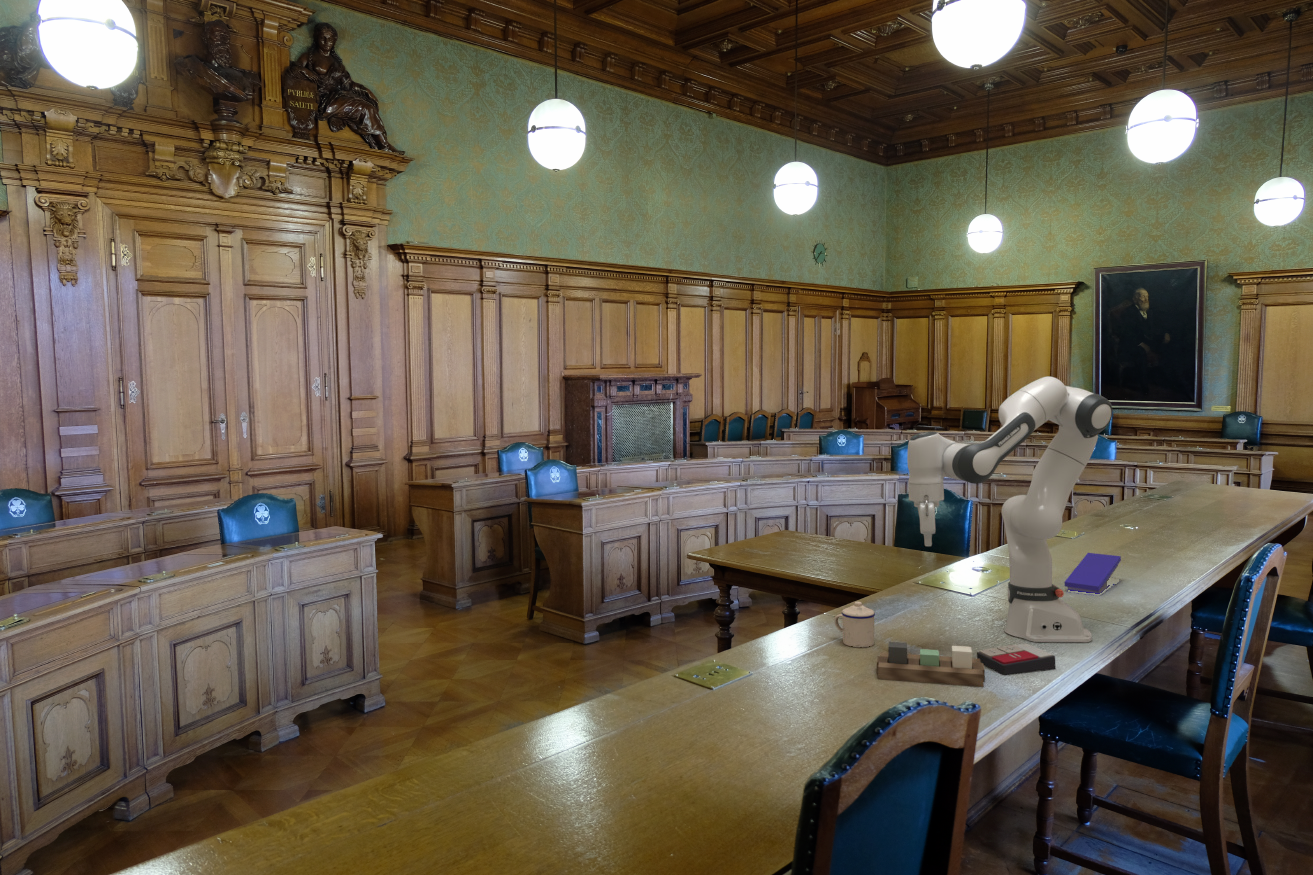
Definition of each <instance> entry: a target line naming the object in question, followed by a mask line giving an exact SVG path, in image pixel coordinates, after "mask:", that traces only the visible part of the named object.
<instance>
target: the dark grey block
mask: <svg viewBox="0 0 1313 875" xmlns="http://www.w3.org/2000/svg"><path fill="white" fill-rule="evenodd" d="M887 650H888V651H887V652H888V659H889V663H895V664H907V654H908V642H902V641H900V642H899V641H888V647H887Z"/></svg>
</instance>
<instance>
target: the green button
mask: <svg viewBox="0 0 1313 875" xmlns="http://www.w3.org/2000/svg"><path fill="white" fill-rule="evenodd" d="M919 655H920V665H923V666H937V667H939V656H940V651H939V650H938V649H928V648H927V649H926V648H925V649H924V648H919Z"/></svg>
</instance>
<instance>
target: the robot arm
mask: <svg viewBox="0 0 1313 875" xmlns="http://www.w3.org/2000/svg"><path fill="white" fill-rule="evenodd" d="M1112 418H1113V405H1112V403H1111V401H1110V400H1108V398H1106V397H1104V395H1103V396H1102V395H1101V394H1099V393H1093V392H1090V391H1089V390H1086V389H1083V388H1079V387H1074V386H1068V385H1065V384H1064V382H1062V380H1060V379H1058V378H1057V377H1054V376H1043V377H1040V378H1039V379H1036V380H1034V381H1032V382H1030V383H1028V384H1026V385H1024V386H1023V387H1021V388H1020V389H1018V390H1017V391H1015V392H1014V393H1013V394H1011V395H1010V396H1009V397H1007V398H1006V399H1004V401H1003V402H1002V403H1001V404H1000V405H999V408H998V420H999V422H1000V424H1001V426H1002V427H1000V428H999V429H998V430H996V431H995V432H994V433H992V435H991V436H989V437H988V438H987V439H986V440H985V441H982V442H976V443H963V442H957V441H954V440H951V439H949V438H946V437H945V436H943V435H940V434H939V433H938V431H922V432H919V433H916V434H914V435H912V436H911V437H910V438H909V441H908V445H907V458H906V459H907V461H906V462H907V469H908V472H909V477H908V483H907V484H908V486H907V487H908V500H909V501H910V502H913V505H914V507H915V508H917V511H918V516H919V530H920V531H919V533H920V534H922V535H923V539H924V541H923V542H924V546H925V547H932V545H933V540H932V539H933V538H932V537H933V535H935V534H936V508H937V507H940V502H941V501H944V500H945V493H944V492H945V490H944V486H945V485H944V478H948V479H954V480H959V481H963V482H967V483H970V484H981V483H984V482H986V481H988V480H989V479H990V478H991V477H992V475H994V474H995V471H996V470H997V468H998V467H999V466H1000V464H1001V462H1003V460H1005V458H1007V457H1008V456H1009V455H1010V454H1011V453H1012V452H1014V451H1015V450H1016V449H1017V448H1018V447H1019V446H1021V445H1022V444H1023V443H1024V442H1025V441H1026V440H1027V439H1028V438H1029V437H1030V436H1031V435H1032V434H1033V432H1034V431H1035V430H1037V429H1038V428H1039V427H1041V426H1042V425H1043V424H1045V423H1046V422H1048V421H1049V422H1052V423H1054V424H1057V425H1058V432H1057V433H1056V434H1055V435H1054V437H1053V438H1052V440H1051V441H1050V443H1049V444H1048V446H1047V447H1046V449H1045V451H1044V452H1043V453H1042V455H1041V457H1040V459H1039V461H1038V463H1037V464H1036V466H1035V468H1034V469H1033V471H1032V478H1031V482H1030V486H1029V487H1028V491H1027V494H1018V495H1014V496H1011V497H1010V498H1008V499H1006V500H1005V502H1004V503H1003V504H1002V507H1001V517H1002V520H1003V523H1004V532H1005V537H1006V542H1007V547H1008V548H1007V550H1008V555H1009V558H1008V559H1009V582H1008V583H1007V585H1008V586H1007V600H1008V608H1007V617H1006V622H1005V626H1004V628H1003V631H1004V632H1005V633H1006V634H1008V635H1011V636H1014V637H1015V638H1017V637H1018V638H1020V639H1024V640H1027V641H1030V642H1034V643H1089V642H1091V641H1092V640H1093V636H1092V633H1091V631H1090V630H1089V629H1087V628H1086V627H1084V626H1083V621H1082V618H1081V615H1080V614H1079V613H1078V611H1076V609H1074V608H1073V607H1072V606H1070V605H1069V604H1068V603H1067V602H1065V601H1064V600H1062V599H1061V598H1063V596H1065V593H1064V591H1063V590H1062V589H1061V588H1059V587H1058V586H1057V585H1054V584H1053V557H1052V554H1051V552H1050V549H1049V546H1048V545H1049V544H1048V541H1047V540H1049V539H1053V538H1055V537H1056V536H1057V535H1058V534H1059V533H1060V532H1061V530H1062V527H1063V516H1064V515H1063V514H1064V512H1065V509H1066V506H1067V504H1068V500H1069V497H1070V495H1071V493H1072V491H1073V488H1074V487H1075V485H1076V483H1077V481H1078V479H1079V478H1080V476H1081V475H1082V473H1083V471H1084V470H1085V469H1086V466H1087V464H1088V463H1089V461H1090V458H1091V457H1092V455H1093V453H1094V450H1095V447H1096V445H1097V442H1098V438H1099V434H1100V433H1101V432H1102V431H1103V430H1105V429H1106V428H1107V427H1108V425H1109V424H1110V422H1111V420H1112Z"/></svg>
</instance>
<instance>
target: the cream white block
mask: <svg viewBox="0 0 1313 875" xmlns="http://www.w3.org/2000/svg"><path fill="white" fill-rule="evenodd" d="M951 657H952V668H965V669H972V658H973V651H972V647H971V646H967V645H966V646H963V645H951Z"/></svg>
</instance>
